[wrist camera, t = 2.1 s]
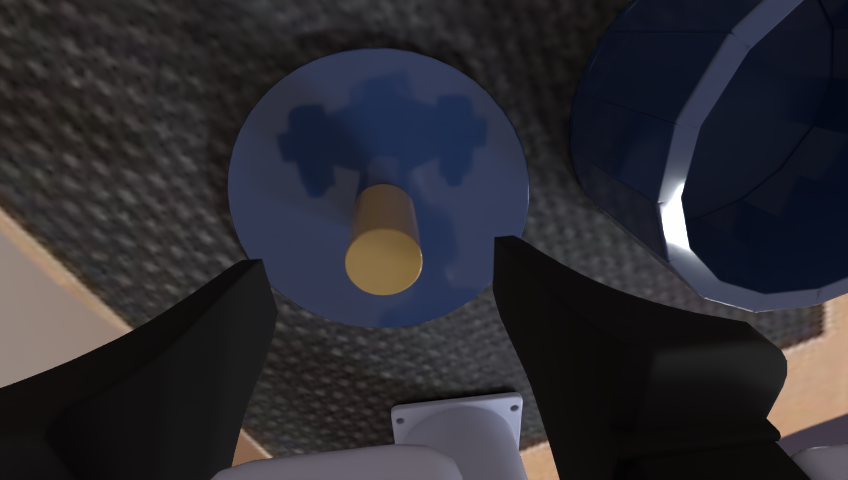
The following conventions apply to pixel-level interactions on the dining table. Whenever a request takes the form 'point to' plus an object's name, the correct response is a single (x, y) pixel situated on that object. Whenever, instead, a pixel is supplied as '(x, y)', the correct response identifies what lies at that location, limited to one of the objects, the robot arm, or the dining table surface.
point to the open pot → (724, 144)
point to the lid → (377, 186)
